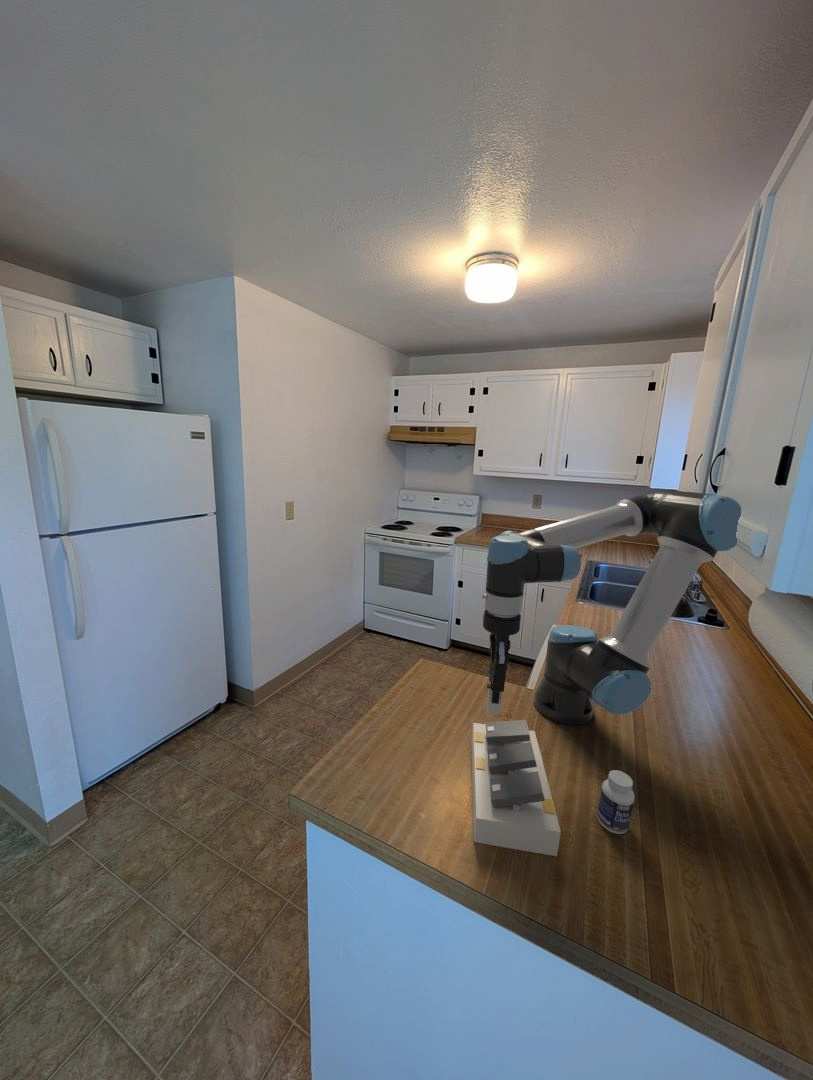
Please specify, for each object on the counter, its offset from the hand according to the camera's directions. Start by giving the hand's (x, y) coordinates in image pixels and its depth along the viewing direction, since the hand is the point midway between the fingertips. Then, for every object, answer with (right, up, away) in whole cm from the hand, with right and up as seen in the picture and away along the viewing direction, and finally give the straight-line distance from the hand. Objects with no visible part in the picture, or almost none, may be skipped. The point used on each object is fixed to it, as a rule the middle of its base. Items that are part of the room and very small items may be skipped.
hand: (493, 712), depth 89 cm
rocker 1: (+3, -4, 0) cm, 5 cm away
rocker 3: (+1, -7, -15) cm, 17 cm away
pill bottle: (+20, -16, -12) cm, 28 cm away
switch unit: (+1, -13, -6) cm, 15 cm away
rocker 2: (+2, -6, -8) cm, 10 cm away
